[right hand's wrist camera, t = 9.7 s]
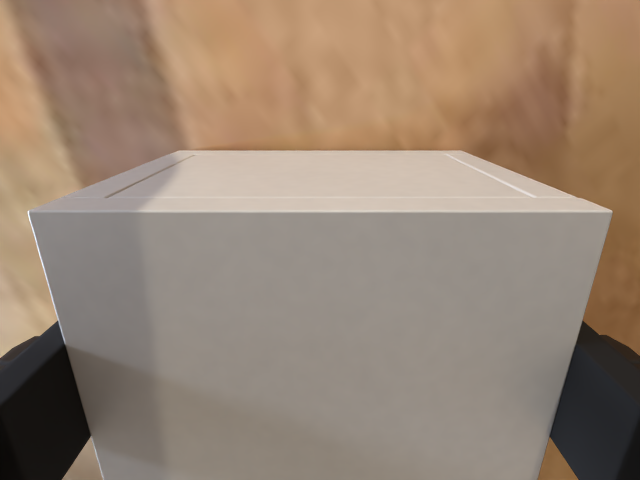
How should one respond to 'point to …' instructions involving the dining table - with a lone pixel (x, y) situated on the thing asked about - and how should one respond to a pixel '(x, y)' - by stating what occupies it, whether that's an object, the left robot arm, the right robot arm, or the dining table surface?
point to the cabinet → (320, 314)
